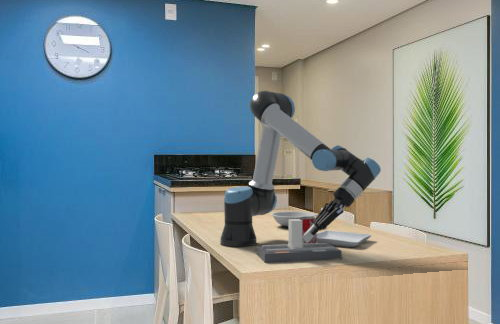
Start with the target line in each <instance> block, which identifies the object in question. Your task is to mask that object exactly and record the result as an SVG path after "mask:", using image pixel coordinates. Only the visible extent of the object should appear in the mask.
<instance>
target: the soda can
mask: <svg viewBox="0 0 500 324" xmlns="http://www.w3.org/2000/svg"><path fill="white" fill-rule="evenodd" d="M315 218H316V216H315V217H308V216H306V217H301V219H300V220H302V236H303V235H304V234H305V233H306V232H307V231H308V230H309V228H310V227H311V226H312V225H313V220H314V219H315ZM316 242H317V234H316V235H315V236H314V237H313V238H312V239H311V240H310V241H309V242H308V243H307V242H306V241H305V240H304V239H303V238H302V244H309V243H316Z"/></svg>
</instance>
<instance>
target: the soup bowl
mask: <svg viewBox="0 0 500 324" xmlns="http://www.w3.org/2000/svg"><path fill="white" fill-rule="evenodd" d="M317 215H318V214H317V213H314V212H309V211H296V210H295V211H293V210H291V211H289V210H288V211H287V210H286V211H274V212H270V216H271V217H273V219H274V220H275V222H277V224H279V225H280V226H284V227H288V228H289V219H301V217H306V216H308V217H315V218H316V217H317Z"/></svg>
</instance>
